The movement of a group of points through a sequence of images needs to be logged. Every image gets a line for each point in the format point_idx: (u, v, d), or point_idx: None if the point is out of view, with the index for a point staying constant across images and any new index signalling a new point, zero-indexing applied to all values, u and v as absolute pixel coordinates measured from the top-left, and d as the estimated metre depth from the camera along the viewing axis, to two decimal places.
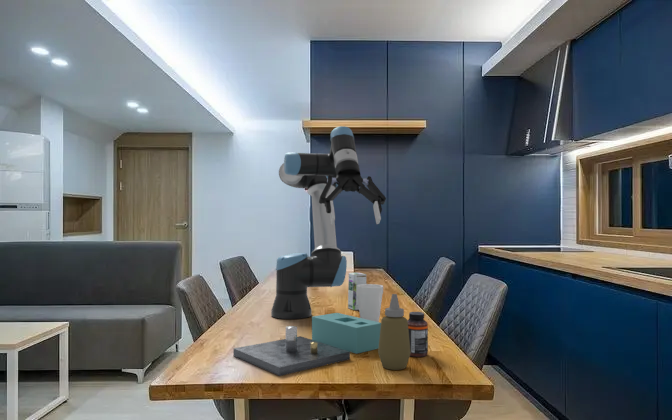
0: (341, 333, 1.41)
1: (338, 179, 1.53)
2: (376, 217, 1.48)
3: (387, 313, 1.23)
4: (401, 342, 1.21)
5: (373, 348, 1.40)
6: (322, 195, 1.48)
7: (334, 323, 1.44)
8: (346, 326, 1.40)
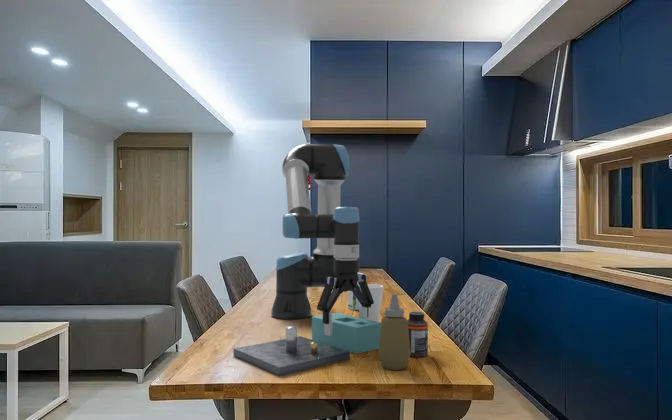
0: (341, 333, 1.41)
1: (339, 281, 1.44)
2: None
3: (387, 313, 1.23)
4: (401, 342, 1.21)
5: (373, 348, 1.40)
6: (324, 306, 1.40)
7: (334, 323, 1.44)
8: (346, 326, 1.40)
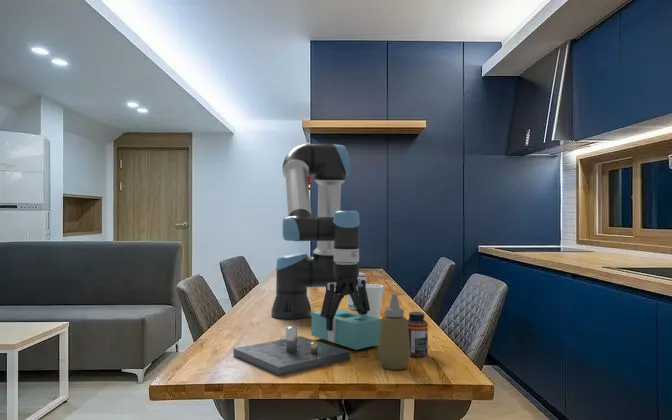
0: (340, 329, 1.42)
1: (339, 286, 1.45)
2: None
3: (387, 313, 1.23)
4: (401, 342, 1.21)
5: (372, 344, 1.41)
6: (327, 313, 1.42)
7: None
8: (345, 322, 1.40)
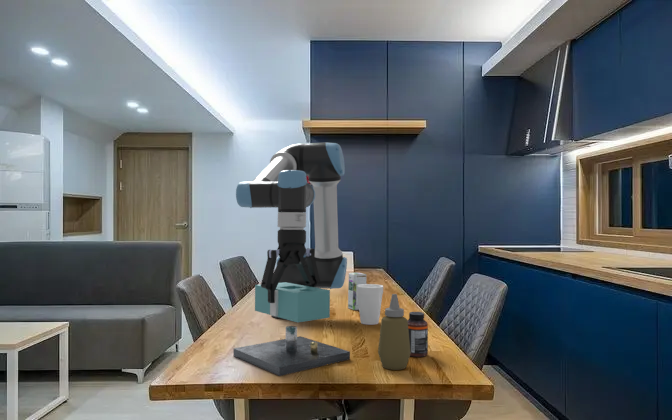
0: (283, 301, 1.26)
1: (282, 253, 1.29)
2: None
3: (387, 313, 1.23)
4: (401, 342, 1.21)
5: (318, 317, 1.25)
6: (268, 283, 1.26)
7: None
8: (288, 292, 1.25)
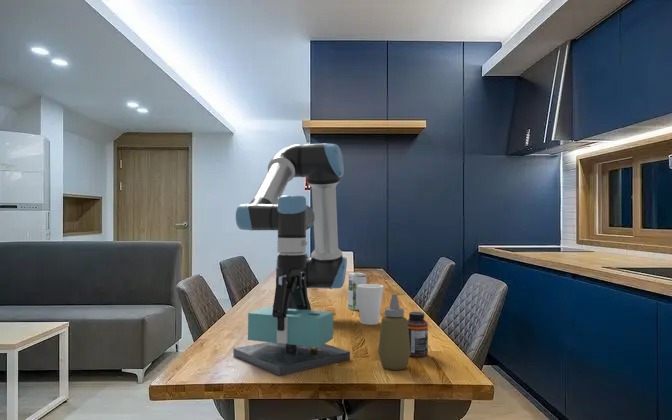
0: (296, 327, 1.26)
1: (289, 279, 1.29)
2: None
3: (387, 313, 1.23)
4: (401, 342, 1.21)
5: (328, 340, 1.30)
6: (282, 311, 1.24)
7: None
8: (303, 319, 1.26)
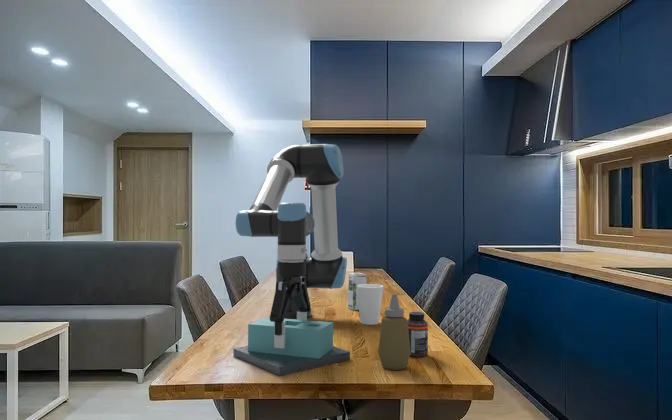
0: (296, 338, 1.26)
1: (289, 286, 1.29)
2: None
3: (387, 313, 1.23)
4: (401, 342, 1.21)
5: (328, 350, 1.30)
6: (279, 315, 1.23)
7: None
8: (303, 330, 1.26)
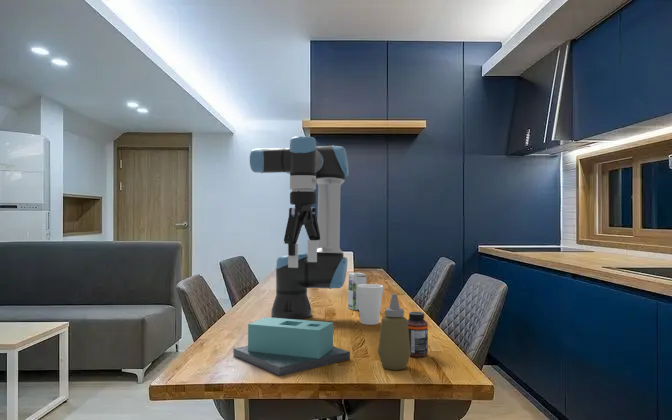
0: (296, 338, 1.26)
1: (301, 212, 1.40)
2: (311, 256, 1.51)
3: (387, 313, 1.23)
4: (401, 342, 1.21)
5: (328, 350, 1.30)
6: (293, 237, 1.35)
7: (284, 328, 1.27)
8: (303, 330, 1.26)
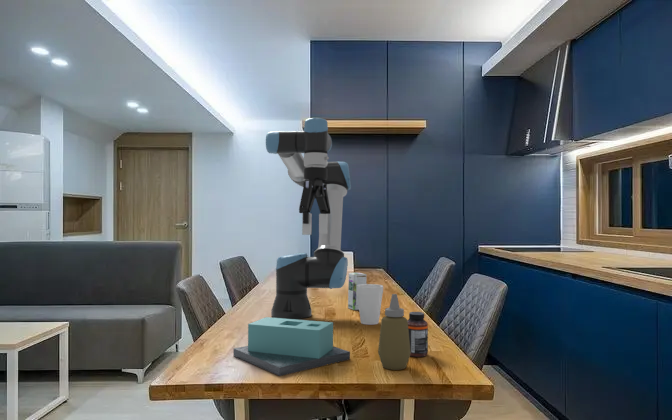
0: (296, 338, 1.26)
1: (314, 186, 1.56)
2: (322, 228, 1.65)
3: (387, 313, 1.23)
4: (401, 342, 1.21)
5: (328, 350, 1.30)
6: (307, 206, 1.50)
7: (284, 328, 1.27)
8: (303, 330, 1.26)
